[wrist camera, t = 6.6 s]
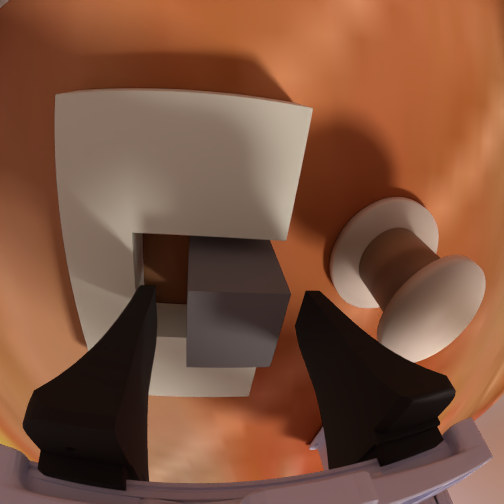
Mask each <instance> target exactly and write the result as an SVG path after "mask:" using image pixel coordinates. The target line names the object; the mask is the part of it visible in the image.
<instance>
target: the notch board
mask: <svg viewBox="0 0 504 504" xmlns="http://www.w3.org/2000/svg"><path fill="white" fill-rule="evenodd" d="M312 111H313V108H310V107H307V106H304V105H301V104H297V103H294V102H289V101H283V100H277V99H270V98H263V97H256V96H249V95H241V94H232V93H222V92H211V91H199V90H183V89H157V88H115V89H91V90H78V91H72V92H66V93H61V94H55V163H56V180H57V192H58V202H59V212H60V220H61V228H62V235H63V241H64V248H65V254H66V259H67V265H68V270H69V275H70V280H71V285H72V290H73V294H74V298H75V303H76V307H77V311H78V315H79V319H80V323H81V326H82V330H83V334H84V337H85V341H86V344H87V347H88V351H89V350H90V349H91V348H92V347H93V346H94V345H95V344H96V343H97V342H98V341H99V340H100V339H101V338H102V337H103V336H104V334H105V333H106V332H107V331H108V330H109V328H110V327H111V326H112V325H113V323H114V322H115V321H116V320H117V318H118V317H119V316H120V314H121V313H122V311H123V310H124V309H125V307H126V306H127V304H128V303H129V301H130V300H131V298H132V297H133V295H134V293H135V292H136V290H137V288H138V287H139V286H140V285H145V284H144V265H143V236H142V233H153V234H173V235H192V236H211V237H229V238H247V239H264V240H281V241H286V238H287V234H288V229H289V225H290V220H291V215H292V211H293V206H294V201H295V196H296V192H297V187H298V182H299V177H300V172H301V167H302V162H303V157H304V152H305V147H306V142H307V137H308V132H309V127H310V121H311V116H312ZM156 306H157V323H158V324H157V340H156V349H155V355H154V361H153V367H152V373H151V380H150V386H149V394H148V395H156V396H178V397H244V396H249V393H250V390H251V386H252V382H253V378H254V374H255V370H256V367H248V368H199V367H186V322H187V304H168V303H156Z"/></svg>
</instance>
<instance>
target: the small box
mask: <svg viewBox="0 0 504 504" xmlns="http://www.w3.org/2000/svg"><path fill="white" fill-rule="evenodd" d="M8 1H9V0H0V8H1V7H2V6H3V5H4V4H5V3H7V2H8Z"/></svg>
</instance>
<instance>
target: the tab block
mask: <svg viewBox="0 0 504 504" xmlns="http://www.w3.org/2000/svg"><path fill="white" fill-rule="evenodd" d="M290 295H291V293H290V290H289V287H288V285H287V282H286V280H285V277H284V275H283V272H282V270H281V267H280V265H279V262H278V260H277V257H276V254H275V252H274V249H273V247H272V244H271V242H270V240H264V239H247V238H229V237H211V236H192V235H190V239H189V258H188V281H187V322H186V367H199V368H248V367H270V365H271V362H272V358H273V355H274V352H275V348H276V345H277V341H278V338H279V335H280V331H281V328H282V324H283V321H284V317H285V313H286V310H287V306H288V303H289V299H290Z"/></svg>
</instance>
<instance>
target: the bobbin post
mask: <svg viewBox="0 0 504 504" xmlns="http://www.w3.org/2000/svg"><path fill="white" fill-rule="evenodd" d="M437 248H438V228H437V224H436V222H435V219H434V218H433V216H432V214H431V213H430V212H429V211H428V210H427V209H426V208H424V207H423V206H422V205H420V204H419V203H418V202H416V201H414V200H412V199H409V198H405V197H390V198H385V199H381V200H379V201H376V202H374V203H372V204H370V205H368V206H367V207H365V208H363V209H362V210H361V211H359V212H358V213H357V214H356V215H355V216H354V217H353V218H352V219H351V220H350V221H349V222H348V223H347V224H346V225H345V227H344V228H343V229H342V231H341V232H340V234H339V235H338V237H337V239H336V241H335V243H334V246H333V249H332V252H331V256H330V264H329V269H330V276H331V280H332V283H333V285H334V287H335V288H336V290H337V292H338V293H339V295H340V296H341V297H342V298H343V300H345V301H346V302H347V303H349V304H351V305H353V306H356V307H360V308H377V307H380V308H381V309H382V311H383V314H382V316H381V319H380V321H379V325H378V329H377V340H378V342H379V343H381V344H382V345H384V346H385V347H387V348H388V349H390V350H391V351H393V352H395V353H396V354H398V355H400V356H402V357H403V358H405V359H407V360H409V361H411V362H413V363H414V362H417V361H420V360H423V359H426V358H428V357H430V356H432V355H434V354H436V353H437V352H439V351H440V350H442V349H443V348H445V347H446V346H447V345H449V344H450V343H451V342H452V341H453V340H454V339H456V338H457V337H458V336H459V335H460V334H461V333H462V332H463V330H464V329H465V328H466V327H467V326H468V324H469V323H470V322H471V320H472V319H473V317H474V316H475V314H476V312H477V310H478V309H479V307H480V304H481V302H482V299H483V296H484V292H485V285H486V283H485V275H484V273H483V271H482V269H481V268H480V267H479V266H478V265H477V264H476V263H475V262H474V261H473V260H472V259H470V258H469V257H467V256H464V255H450V256H446V257H443V258H440V257H439V256H438V255H437V254H436V252H437Z"/></svg>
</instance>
